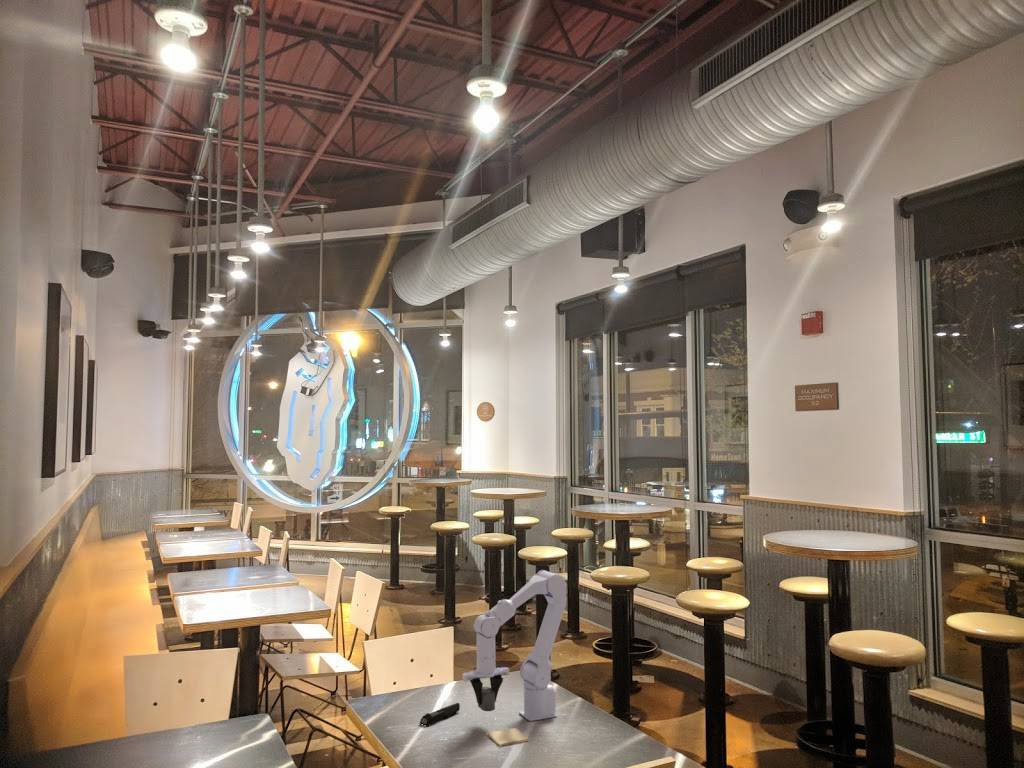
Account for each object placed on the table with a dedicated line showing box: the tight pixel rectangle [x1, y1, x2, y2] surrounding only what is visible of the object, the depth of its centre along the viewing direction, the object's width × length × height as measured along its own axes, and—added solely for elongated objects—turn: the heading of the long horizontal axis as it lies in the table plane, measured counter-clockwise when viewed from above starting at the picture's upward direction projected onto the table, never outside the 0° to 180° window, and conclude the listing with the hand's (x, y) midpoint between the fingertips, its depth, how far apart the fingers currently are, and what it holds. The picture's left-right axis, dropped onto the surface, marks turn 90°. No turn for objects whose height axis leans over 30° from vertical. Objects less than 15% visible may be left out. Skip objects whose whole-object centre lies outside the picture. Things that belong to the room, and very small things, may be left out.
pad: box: [487, 727, 529, 747], centre depth 216 cm, size 9×9×1 cm
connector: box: [477, 686, 496, 712], centre depth 227 cm, size 9×4×5 cm, turn 24°
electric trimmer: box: [419, 702, 461, 727], centre depth 232 cm, size 4×16×3 cm, turn 141°
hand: (486, 702), depth 226 cm, fingers closed on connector, 4 cm apart
